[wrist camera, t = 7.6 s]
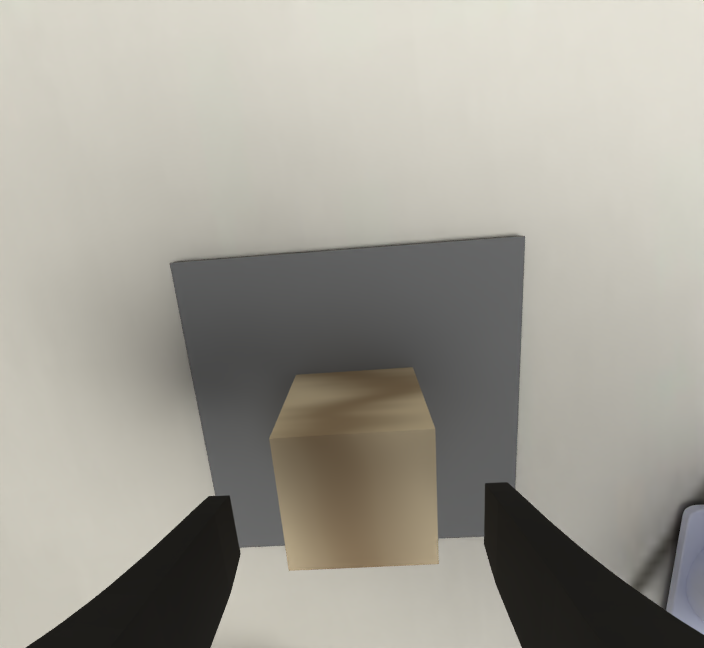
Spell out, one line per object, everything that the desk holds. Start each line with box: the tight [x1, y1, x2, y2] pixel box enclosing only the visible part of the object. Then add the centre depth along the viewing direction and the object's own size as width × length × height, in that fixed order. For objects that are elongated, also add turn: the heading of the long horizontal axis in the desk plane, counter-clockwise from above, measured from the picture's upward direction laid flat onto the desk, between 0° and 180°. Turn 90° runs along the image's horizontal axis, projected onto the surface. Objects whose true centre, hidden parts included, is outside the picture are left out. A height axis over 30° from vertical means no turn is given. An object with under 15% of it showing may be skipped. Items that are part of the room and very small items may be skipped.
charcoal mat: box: [170, 236, 525, 548], centre depth 17 cm, size 14×14×1 cm
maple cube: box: [269, 367, 439, 571], centre depth 14 cm, size 5×5×5 cm
